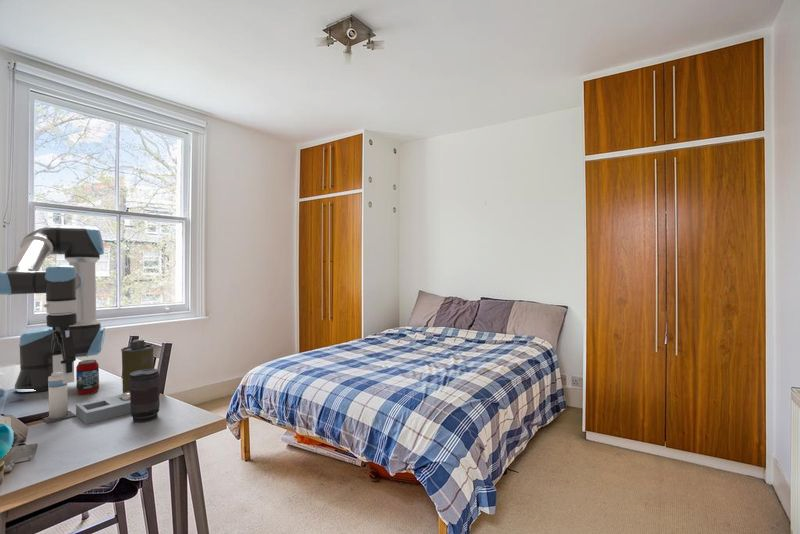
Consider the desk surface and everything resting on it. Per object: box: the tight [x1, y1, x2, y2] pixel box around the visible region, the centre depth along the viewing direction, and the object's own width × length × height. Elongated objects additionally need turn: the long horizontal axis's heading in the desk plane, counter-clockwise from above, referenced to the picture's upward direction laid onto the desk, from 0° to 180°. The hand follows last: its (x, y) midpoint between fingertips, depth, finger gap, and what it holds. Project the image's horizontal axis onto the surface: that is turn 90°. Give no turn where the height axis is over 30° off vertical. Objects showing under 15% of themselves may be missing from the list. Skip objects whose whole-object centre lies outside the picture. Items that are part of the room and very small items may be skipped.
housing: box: [75, 393, 131, 425], centre depth 134 cm, size 12×16×4 cm
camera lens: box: [129, 368, 161, 423], centre depth 129 cm, size 8×8×15 cm
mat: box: [42, 410, 77, 424], centre depth 130 cm, size 7×7×1 cm
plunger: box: [121, 392, 130, 401], centre depth 138 cm, size 4×4×4 cm
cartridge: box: [48, 372, 69, 419], centre depth 130 cm, size 5×5×14 cm
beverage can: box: [75, 359, 100, 396], centre depth 155 cm, size 7×7×12 cm
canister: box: [120, 339, 155, 394], centre depth 154 cm, size 11×10×20 cm
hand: (63, 378), depth 132 cm, fingers open, 13 cm apart
